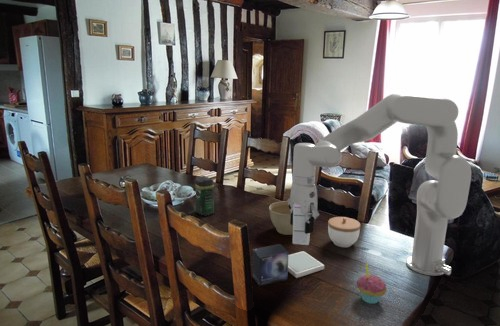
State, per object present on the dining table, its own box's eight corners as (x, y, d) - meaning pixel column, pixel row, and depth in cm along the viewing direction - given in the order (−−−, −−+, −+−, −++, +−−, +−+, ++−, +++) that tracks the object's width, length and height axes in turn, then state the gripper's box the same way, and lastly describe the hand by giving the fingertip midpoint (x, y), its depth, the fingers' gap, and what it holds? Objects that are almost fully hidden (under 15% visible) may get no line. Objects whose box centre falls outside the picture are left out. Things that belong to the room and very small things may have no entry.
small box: (259, 287, 112) (260, 257, 110) (251, 277, 118) (251, 248, 116) (288, 280, 116) (289, 251, 114) (279, 270, 122) (280, 243, 120)
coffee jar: (216, 214, 173) (216, 178, 169) (202, 217, 169) (201, 180, 164) (207, 208, 181) (206, 173, 177) (193, 211, 176) (192, 176, 172)
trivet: (324, 269, 123) (324, 264, 123) (296, 278, 117) (296, 273, 117) (303, 254, 133) (303, 250, 133) (276, 262, 128) (277, 257, 127)
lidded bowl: (357, 252, 135) (360, 226, 132) (324, 247, 139) (326, 221, 137) (359, 239, 146) (361, 214, 144) (329, 234, 151) (330, 210, 148)
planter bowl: (271, 222, 164) (271, 200, 161) (306, 225, 161) (307, 202, 158) (266, 236, 148) (266, 212, 146) (304, 240, 145) (305, 215, 143)
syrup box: (309, 245, 120) (311, 205, 116) (291, 243, 121) (293, 204, 118) (309, 238, 125) (311, 200, 122) (293, 236, 126) (294, 198, 123)
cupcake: (354, 303, 104) (357, 267, 101) (356, 288, 112) (359, 254, 109) (385, 310, 101) (389, 273, 98) (385, 294, 109) (388, 259, 106)
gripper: (329, 185, 112) (326, 235, 116) (297, 172, 127) (295, 217, 131) (311, 188, 109) (308, 240, 113) (280, 175, 124) (278, 221, 128)
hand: (301, 227), depth 122 cm, fingers closed on syrup box, 7 cm apart
